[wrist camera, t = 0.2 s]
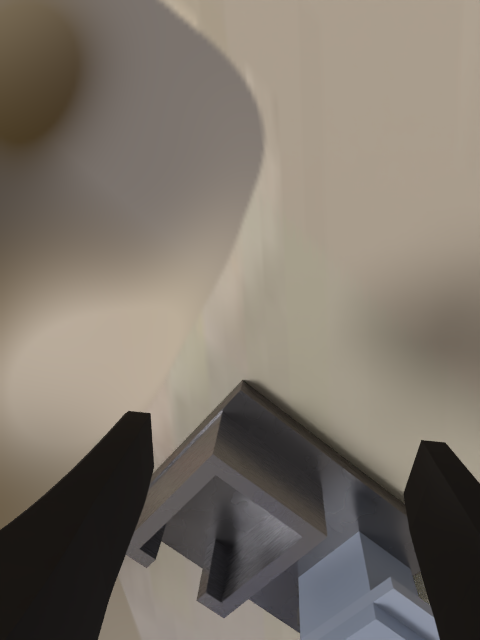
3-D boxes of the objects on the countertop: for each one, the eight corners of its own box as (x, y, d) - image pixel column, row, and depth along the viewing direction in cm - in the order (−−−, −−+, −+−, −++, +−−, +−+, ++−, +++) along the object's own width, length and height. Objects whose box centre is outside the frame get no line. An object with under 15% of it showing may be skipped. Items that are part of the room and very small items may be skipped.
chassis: (313, 627, 30) (318, 705, 26) (126, 501, 27) (98, 564, 23) (445, 535, 26) (475, 608, 22) (242, 380, 24) (233, 430, 19)
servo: (329, 624, 28) (338, 720, 23) (280, 591, 27) (279, 682, 23) (428, 556, 25) (460, 649, 21) (376, 518, 25) (397, 604, 20)
